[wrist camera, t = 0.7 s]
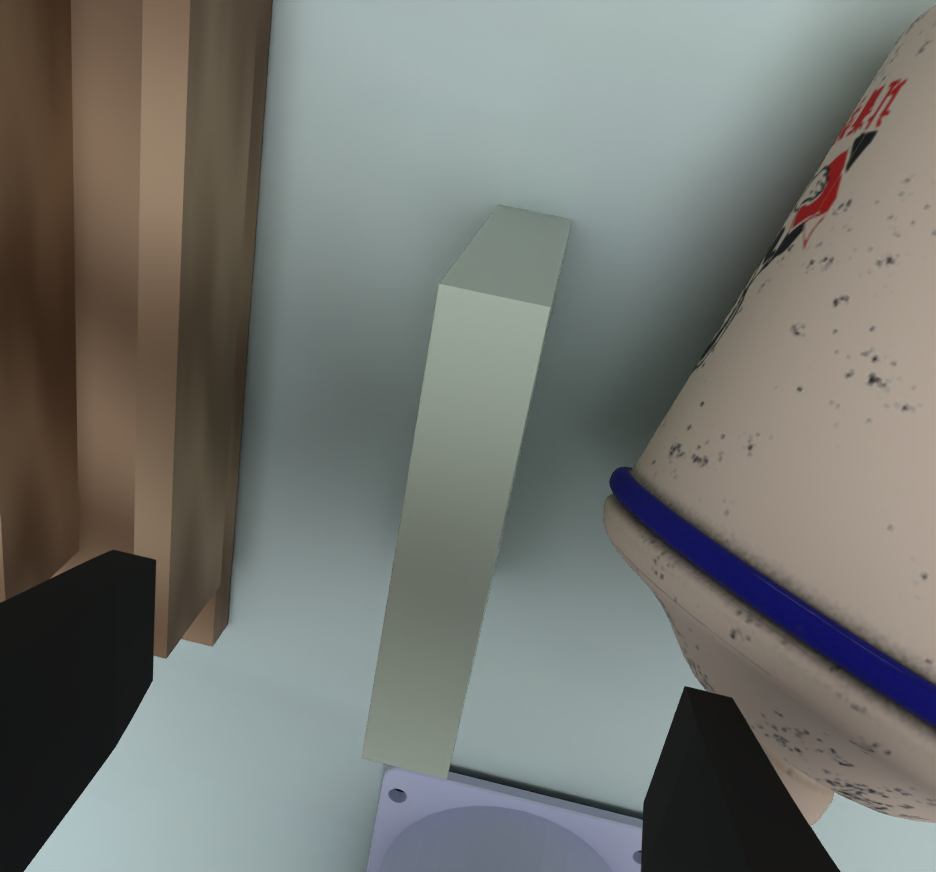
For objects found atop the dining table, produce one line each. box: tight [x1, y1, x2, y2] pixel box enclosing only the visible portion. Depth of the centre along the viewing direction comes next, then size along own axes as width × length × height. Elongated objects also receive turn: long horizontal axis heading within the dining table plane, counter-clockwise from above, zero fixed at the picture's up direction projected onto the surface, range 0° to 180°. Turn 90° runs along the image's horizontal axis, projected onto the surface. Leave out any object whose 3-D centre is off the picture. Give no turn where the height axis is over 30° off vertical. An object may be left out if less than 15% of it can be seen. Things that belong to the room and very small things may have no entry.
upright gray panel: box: [362, 205, 572, 779], centre depth 18 cm, size 9×2×7 cm, turn 170°
